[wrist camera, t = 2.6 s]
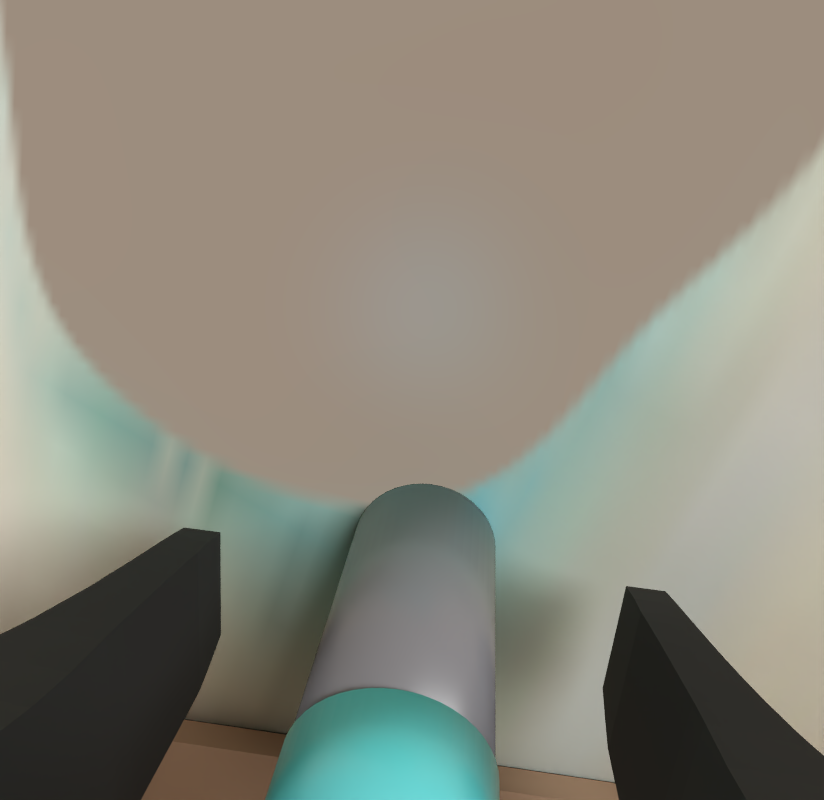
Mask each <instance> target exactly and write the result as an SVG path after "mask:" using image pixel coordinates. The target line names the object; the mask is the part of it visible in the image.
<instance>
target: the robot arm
mask: <svg viewBox="0 0 824 800" xmlns="http://www.w3.org/2000/svg"><path fill="white" fill-rule="evenodd" d="M220 635H221V595H220V532H213V531H205V530H198V529H190V528H183V529H181V530H179V531H178V532H176V533H174V534H172V535H171V536H169V537H168V538H166V539H164V540H163V541H161V542H160V543H158V544H157V545H155V546H153V547H152V548H150V549H149V550H147V551H146V552H144V553H143V554H141V555H139V556H138V557H136V558H135V559H133V560H132V561H130V562H128V563H127V564H125V565H124V566H122V567H120V568H119V569H117V570H116V571H114V572H112V573H111V574H109V575H108V576H106V577H104V578H103V579H101V580H99V581H98V582H96V583H95V584H93V585H91V586H90V587H88V588H86V589H84V590H83V591H81V592H79V593H77V594H76V595H74V596H72V597H70V598H68V599H67V600H65V601H63V602H61V603H59V604H58V605H56V606H54V607H52V608H51V609H49V610H47V611H45V612H43V613H42V614H40V615H38V616H36V617H34V618H32V619H31V620H29V621H27V622H25V623H23V624H21V625H19V626H17V627H15V628H13V629H11V630H9V631H7V632H4V633H2V634H0V800H141V799H142V797H143V795H144V793H145V791H146V790H147V788H148V786H149V784H150V782H151V780H152V778H153V777H154V775H155V773H156V771H157V769H158V767H159V765H160V764H161V762H162V760H163V758H164V756H165V754H166V752H167V751H168V749H169V747H170V745H171V743H172V741H173V739H174V738H175V736H176V734H177V732H178V730H179V728H180V726H181V724H182V723H183V721H184V719H185V717H186V715H187V713H188V711H189V709H190V707H191V706H192V704H193V702H194V700H195V698H196V696H197V694H198V692H199V690H200V688H201V685H202V683H203V680H204V678H205V675H206V673H207V670H208V667H209V665H210V662H211V660H212V657H213V654H214V651H215V649H216V646H217V643H218V640H219V638H220ZM603 697H604V709H605V722H606V732H607V742H608V750H609V755H610V760H611V765H612V770H613V775H614V779H615V784H616V789H617V793H618V798H619V800H824V756H823V755H822V754H821V753H820V752H819V751H817V750H816V749H815V748H814V747H813V746H812V745H811V744H810V743H808V742H807V741H806V740H805V739H804V738H803V737H802V736H801V735H800V734H798V733H797V732H796V731H795V730H794V729H793V728H792V727H791V726H790V725H789V724H788V723H787V722H786V721H785V720H784V719H783V718H782V717H781V716H780V715H779V714H778V713H777V712H776V711H775V710H774V709H773V708H771V707H770V706H769V705H768V704H767V703H766V702H765V701H764V700H763V699H762V698H761V697H760V696H759V695H758V694H757V693H756V691H755V690H754V689H753V688H752V687H751V686H750V685H749V684H748V683H747V682H746V681H745V680H744V679H743V678H742V677H741V676H740V675H739V674H738V673H737V672H736V670H735V669H734V668H733V667H732V666H731V665H730V664H729V663H728V662H727V661H726V660H725V658H724V657H723V656H722V655H721V654H720V653H719V652H718V651H717V650H716V648H715V647H714V646H713V645H712V644H711V643H710V642H709V640H708V639H707V638H706V637H705V636H704V635H703V634H702V632H701V631H700V630H699V629H698V628H697V627H696V626H695V624H694V623H693V622H692V621H691V620H690V619H689V617H688V616H687V615H686V614H685V613H684V612H683V611H682V609H681V608H680V607H679V606H678V605H677V604H676V603H675V601H674V600H673V599H672V598H671V597H670V596H669V595H668V594H667V593H666V592H665V591H658V590H651V589H643V588H636V587H628V586H626V590H625V594H624V598H623V603H622V607H621V612H620V616H619V620H618V625H617V629H616V633H615V638H614V642H613V646H612V651H611V655H610V659H609V664H608V668H607V672H606V677H605V681H604V685H603Z"/></svg>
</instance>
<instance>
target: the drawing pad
mask: <svg viewBox="0 0 824 800" xmlns="http://www.w3.org/2000/svg"><path fill="white" fill-rule="evenodd" d="M285 737H286V735H285V734H278V733H271V732H264V731H258V730H251V729H244V728H237V727H231V726H224V725H217V724H210V723H203V722H197V721H190V720H184V721H183V723H182V724H181V726H180V728H179V730H178V732H177V734H176V736H175V738H174V739H173V741H172V743H171V745H170V747H169V749H168V751H167V752H166V754H165V756H164V758H163V760H162V762H161V764H160V765H159V767H158V769H157V771H156V773H155V775H154V777H153V778H152V780H151V782H150V784H149V786H148V788H147V790H146V791H145V793H144V795H143V797H142V799H141V800H265V798H266V795H267V792H268V789H269V786H270V783H271V780H272V777H273V773H274V770H275V767H276V764H277V761H278V758H279V755H280V752H281V749H282V746H283V743H284V740H285ZM498 770H499V785H500V800H619V798H618V793H617V789H616V784H615V783H611V782H604V781H597V780H590V779H583V778H577V777H570V776H563V775H556V774H549V773H543V772H536V771H529V770H522V769H516V768H509V767H502V766H498Z"/></svg>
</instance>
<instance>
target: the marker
mask: <svg viewBox="0 0 824 800" xmlns="http://www.w3.org/2000/svg"><path fill="white" fill-rule="evenodd" d="M265 800H500V785H499V770H498V766H497V762H496V759H495V539H494V535H493V531H492V529H491V526H490V524H489V522H488V520H487V518H486V517H485V515H484V514H483V513H482V511H481V510H480V509H479V508H478V507H477V506H476V505H475V504H474V503H473V502H472V501H470V500H469V499H468V498H466V497H465V496H463V495H461V494H460V493H458V492H456V491H453V490H451V489H448V488H445V487H442V486H437V485H432V484H411V485H405V486H401V487H397V488H394V489H392V490H390V491H387V492H385V493H384V494H382V495H381V496H379V497H378V498H376V499H375V500H374V501H373V502H372V503H371V504H370V505H369V506H368V507H367V508H366V510H365V511H364V513H363V514H362V516H361V518H360V520H359V522H358V525H357V528H356V531H355V534H354V537H353V541H352V544H351V547H350V550H349V553H348V556H347V559H346V563H345V566H344V569H343V572H342V575H341V578H340V581H339V584H338V588H337V591H336V594H335V597H334V600H333V603H332V606H331V609H330V613H329V616H328V619H327V622H326V625H325V628H324V631H323V634H322V638H321V641H320V644H319V647H318V650H317V653H316V656H315V659H314V663H313V666H312V669H311V672H310V675H309V678H308V681H307V684H306V688H305V691H304V694H303V697H302V700H301V703H300V706H299V709H298V713H297V716H296V719H295V722H294V724H293V725H292V727H291V728H290V729H289V731H288V733H287V735H286V737H285V740H284V743H283V746H282V749H281V752H280V755H279V758H278V761H277V764H276V767H275V770H274V773H273V777H272V780H271V783H270V786H269V789H268V792H267V795H266V798H265Z"/></svg>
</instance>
